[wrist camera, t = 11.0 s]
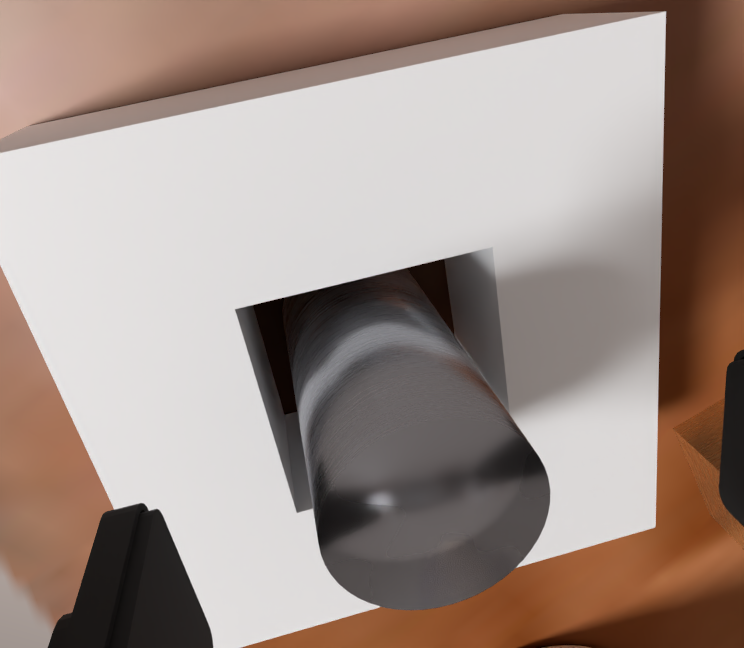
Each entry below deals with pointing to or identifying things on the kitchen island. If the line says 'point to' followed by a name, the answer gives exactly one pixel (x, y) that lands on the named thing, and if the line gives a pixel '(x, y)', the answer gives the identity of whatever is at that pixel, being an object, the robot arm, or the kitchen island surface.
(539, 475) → the round bit
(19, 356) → the kitchen island surface
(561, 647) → the teacup with lid
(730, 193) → the kitchen island surface
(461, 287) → the block
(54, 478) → the kitchen island surface
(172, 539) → the robot arm
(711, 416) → the square bit
